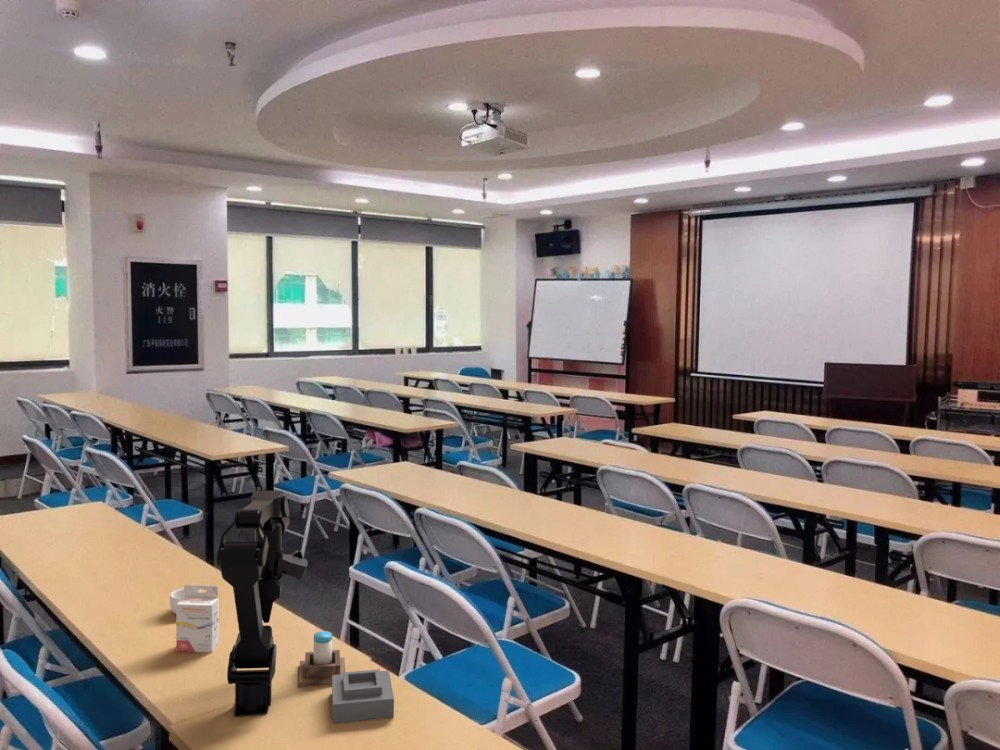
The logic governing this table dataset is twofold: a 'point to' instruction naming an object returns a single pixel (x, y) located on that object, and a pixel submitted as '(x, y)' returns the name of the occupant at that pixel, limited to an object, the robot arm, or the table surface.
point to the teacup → (177, 598)
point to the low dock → (320, 670)
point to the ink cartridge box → (197, 619)
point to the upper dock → (362, 696)
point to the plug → (322, 648)
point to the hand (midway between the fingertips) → (268, 614)
